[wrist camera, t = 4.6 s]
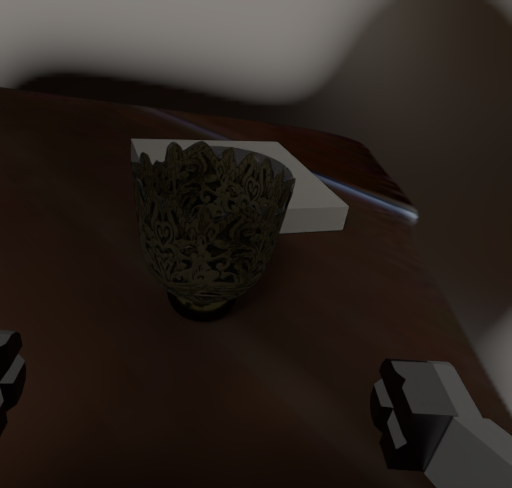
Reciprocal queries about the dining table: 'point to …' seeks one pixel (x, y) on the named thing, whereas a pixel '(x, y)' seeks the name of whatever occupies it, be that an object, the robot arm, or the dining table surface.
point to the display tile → (306, 185)
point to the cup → (208, 224)
